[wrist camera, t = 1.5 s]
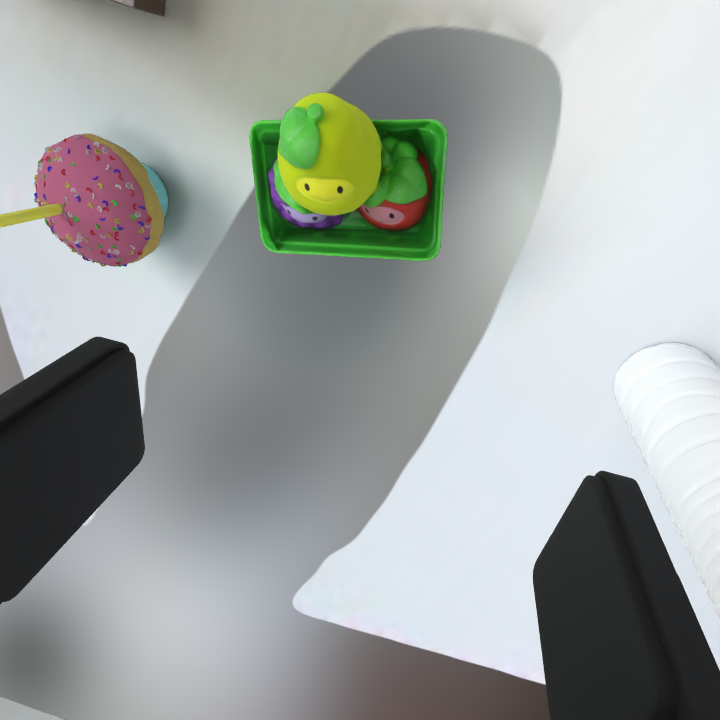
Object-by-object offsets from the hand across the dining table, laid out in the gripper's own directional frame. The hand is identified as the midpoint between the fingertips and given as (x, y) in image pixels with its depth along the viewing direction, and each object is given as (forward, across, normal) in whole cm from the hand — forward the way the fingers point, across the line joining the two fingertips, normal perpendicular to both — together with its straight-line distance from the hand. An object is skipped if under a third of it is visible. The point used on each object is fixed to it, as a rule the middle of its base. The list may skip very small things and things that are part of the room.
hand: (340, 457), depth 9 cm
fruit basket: (+26, +5, -2) cm, 26 cm away
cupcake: (+26, +22, +3) cm, 34 cm away
